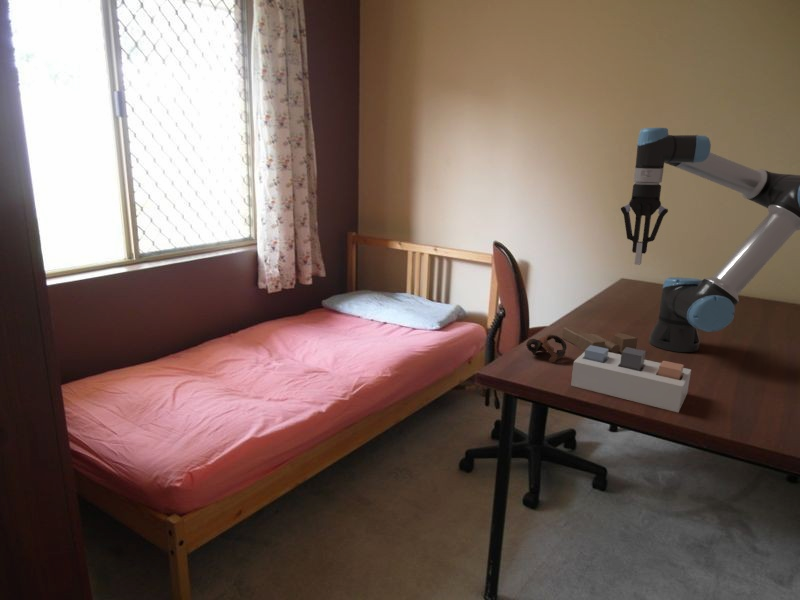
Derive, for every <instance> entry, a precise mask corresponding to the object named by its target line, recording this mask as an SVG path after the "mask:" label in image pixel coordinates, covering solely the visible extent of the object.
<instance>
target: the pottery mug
mask: <svg viewBox="0 0 800 600" xmlns="http://www.w3.org/2000/svg"><path fill="white" fill-rule="evenodd" d="M552 339H553V340H554V342H555V343H557V344H559V345H561V346H562V349H557V350H556V351H554V350H555V348H554V347H552V346H551V344H550V343H549V341H551V340H552ZM525 345H526V348H527V350H528V351H529V352H531V354H532V355H533V356H536V355H537V352H542V353H549V354H550V357H549V359H548V362H550V363H555V362H556V361H558V360H561V359H562V358H563V357H565V354H566V350H567V344H566V342H565V341H564V340H563V338H561V337H559V336H558V335H555V334H552V333H551V334H546V335H545V336H543V337H541V338H539V339H537V338H530V339H528V340H527V341H526V344H525ZM533 345H534V346H533Z"/></svg>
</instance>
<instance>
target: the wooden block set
mask: <svg viewBox="0 0 800 600" xmlns="http://www.w3.org/2000/svg"><path fill="white" fill-rule="evenodd" d="M563 339H564V340H565V341H566V342H568V343H570V342H571V344H572V345H574V346H575V347H576V348H578V349H580V350H582V351H583V352H585V350H586V349H587V348H588V347H589V346H590V345H592V346H597V347H602V348H607V349H609V351H608V352H611V353H616V354H619V352H621V353H622V351H623V350H624V349H625V348H626V347H629V348H634V349H637V347H638V339H639V338H638V337H635V336H632V335H629V334H625V333H622V332H618V333H615V334H613V338H612V341H611V340H609V339H606V338H604V337H602V336H600V335H599V334H596V333H591V334H590V333H588V332H585V331H584V330H581V329H579V328H577V327H572V326H564V327H563V331H562V340H563Z"/></svg>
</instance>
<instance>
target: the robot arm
mask: <svg viewBox="0 0 800 600" xmlns="http://www.w3.org/2000/svg"><path fill="white" fill-rule="evenodd" d="M637 139H638V140H637V144H636V147H637V149H636V157H635V167H634V172H633V173H634V174H633V182H634V184H633V185H632V192H631V199H630V200H629V203H628V204H626V205H625V206H624V205H623V206H621V207H620V210H621V212H622V214H623V219H624V225H625V226H624V227H625V232H626V233H625V234H626V239H627V240H629V241H632V249H631V251H632V252H631V253H633V254H634V253H635V256H634V257H635V258H634V265H635V266H636V265H637V266H640V265H642V259H643V255H644V254H646V253H647V251H648V243H650V242H653V241H655V239H656V236H657V234H658V232H659V229H660V227H661V224H662V222H663V220H664V217H665V216H666V215H667V213H668V212H669V209H668V208H666V207H664V206H663V205H662V202H661V199H660V198H661V190H662V185H661V184H660V183H662V182H663V175H664V167H665V164H666V165H668V166H673V167H674V168H677V169H680V170H682V171H685V172H687V173H689V174H692V175H695V176H697V177H700V178H703V179H705V180H708V181H710V182H713V183H715V184H718V185H720V186H722V187H725V188H728V189H731V190H733V191H735V192H738V193H741V194H742V197H743V198H744V199H747V200H749V201H751V202H753V203H756V204H757V205H760V206H761V207H764V208H766V209H767V210H768V214H767V216H766V217H765V218H764V219H763V220H762V221H761V222H760V224H758V226H757V227H755V229H754V230H753V231H752V232H751V234H750V235H749V236H748V237H747V238H746V239H745V240H744V241H743V242H742V243H741V245H740V246H739V247H738V248H737V249H736V250H735V251H734V252H733V253H732V254H731V256H730V257H729V258H728V259H727V260H726V261H725V262H724V264H723V265H722V266H721V267H720V268H719V269H718V270H717V271H716V273H715V274H714V275H713V276H709V277H704V278H703V279H700V278H691V277H679V276H677V277H667V278H665V280H664V281H663V285H662V287H661V288H662V292H661V297H660V305H659V311H658V317H657V318H658V319H657V321H656V322H655V323H656V324H655V325H654V327H653V329H652V330H651V332H650V335H649V339H648V341H649V344H651V345H652V346H654V347H656V348H658V349H660V350H661V349H662V350H665V351H671V352H678V353H694V352H697V351H699V348H700V338H699V333H698V332H699V331H698V330H701V331H703V332H710V333H713V332H718V331H721V330H723V329H726V328H727V326H729V325H730V324H731V323H732V321H733V319H734V317H735V312H736V308H735V306H736V305H737V304H738V303H739V294H740V293H741V292H742V290H744V288H745V287H746V286H748V284H749V283H750V282H751V281H752V280H753V279H754V277H756V275H757V274H758V273H759V272H760V271H762V269H763V268H764V267H765V265H766V264H767V263H768V262H769V261H770V260H771V259H772V258H773V257H774V255H776V253H777V252H778V251H779V250H780V249H782V247H783V246H784V245H785V243H786V242H788V240H790V238H791V237H792V236H793V235H794V234H795V232H797V231H800V175H799V174H788V173H787V174H785V173H776V172H772V171H768V170H765V169H763V168H762V169H761V168H760V169H756V170H755V169H753V168H750V167H748V166H745V165H743V164H742V163H741V164H740V163H738V162H735V161H734V160H731V159H728V158H725V157H723V156H721V155H717V154H716V153H713V152H711V147H712V146H711V145H712V144H711V140H710V138H709V137H708V136H706V135H698V134H692V135H691V134H687V135H686V134H685V135H684V134H682V135H681V134H680V135H679V134H678V135H677V134H676V135H675V134H672V135H671V134H669V128H667V127H643V128H641V129H640V131H639V135H638V137H637ZM631 210H632V212H633V213H634V214H635V222H634V230H632V221H631V215H630V212H631ZM657 210H658V212H657ZM656 212H657V213H658V216H657V219H656V222H655V224H654V226H653V229H652V232H651V234H650V228H651V219H652V216H653V214H655V213H656ZM643 216H644V224H643V233H642V241H639V240H640V234H641V233H640V231H641V223H642V218H643ZM633 231H634V232H633Z"/></svg>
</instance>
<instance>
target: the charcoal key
mask: <svg viewBox="0 0 800 600" xmlns="http://www.w3.org/2000/svg"><path fill="white" fill-rule="evenodd" d="M646 352H647V351H646V350H643V349H637V348H636V349H634V348H629V347H626V348H625V349H624V350H623V351H622V352H621V354H620V355H621V362H620V367H623V368H628V369H632V370H637V371H642V369H643V367H644V360H646Z"/></svg>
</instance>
